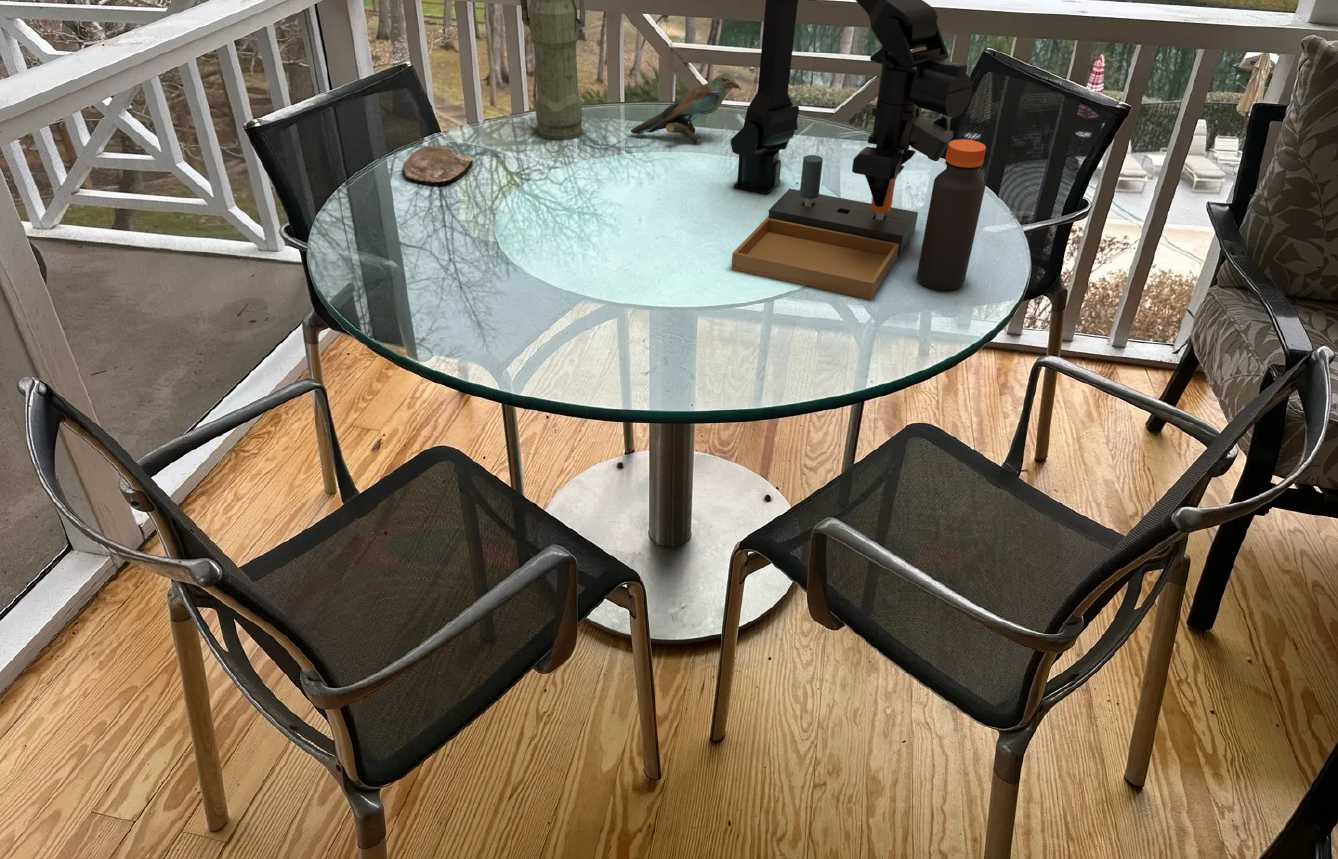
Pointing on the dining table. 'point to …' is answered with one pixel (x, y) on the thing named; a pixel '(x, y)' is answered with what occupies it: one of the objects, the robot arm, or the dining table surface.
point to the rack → (846, 217)
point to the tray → (816, 257)
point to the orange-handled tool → (886, 205)
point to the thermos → (556, 65)
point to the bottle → (952, 217)
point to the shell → (436, 165)
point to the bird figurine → (690, 108)
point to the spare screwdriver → (811, 178)
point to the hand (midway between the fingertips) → (881, 202)
